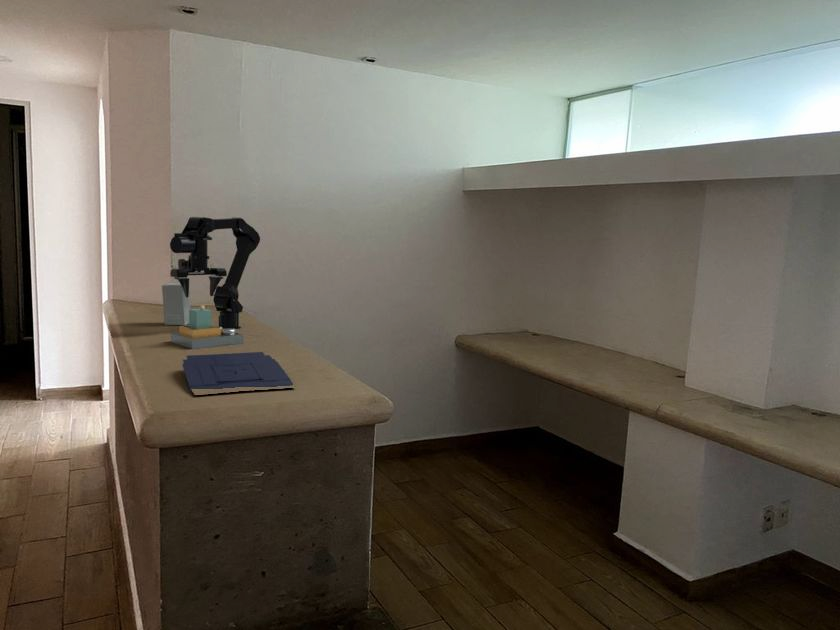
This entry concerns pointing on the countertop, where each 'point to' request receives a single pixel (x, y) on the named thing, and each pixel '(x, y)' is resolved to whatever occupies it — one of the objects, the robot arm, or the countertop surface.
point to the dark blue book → (234, 371)
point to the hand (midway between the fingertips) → (199, 296)
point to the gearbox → (206, 337)
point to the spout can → (199, 318)
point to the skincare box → (175, 304)
